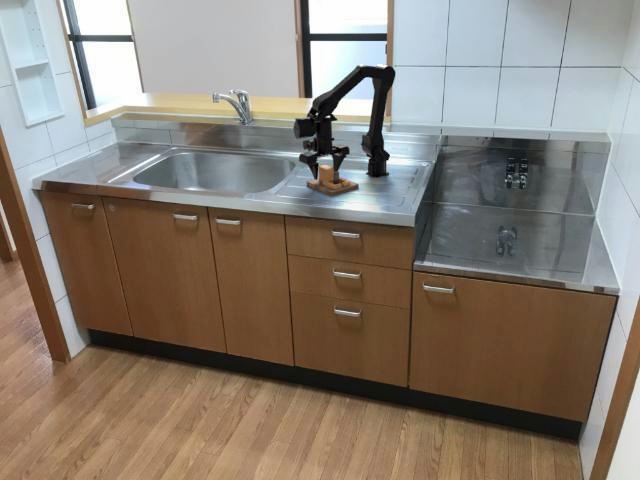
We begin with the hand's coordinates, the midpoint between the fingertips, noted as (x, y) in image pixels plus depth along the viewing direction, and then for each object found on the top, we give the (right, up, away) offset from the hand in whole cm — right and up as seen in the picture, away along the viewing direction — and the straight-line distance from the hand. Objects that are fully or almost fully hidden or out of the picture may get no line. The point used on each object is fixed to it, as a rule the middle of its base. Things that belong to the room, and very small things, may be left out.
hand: (325, 176), depth 187 cm
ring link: (+2, -2, -3) cm, 4 cm away
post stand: (+2, -4, -2) cm, 5 cm away
